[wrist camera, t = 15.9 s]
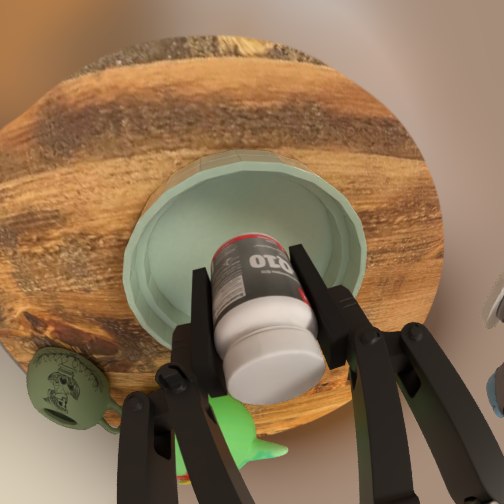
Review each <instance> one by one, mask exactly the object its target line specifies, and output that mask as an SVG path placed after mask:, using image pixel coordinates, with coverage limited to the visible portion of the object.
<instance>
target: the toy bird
mask: <svg viewBox="0 0 504 504" xmlns="http://www.w3.org/2000/svg"><path fill="white" fill-rule="evenodd" d="M208 398H209V403H210V405H211V406H212V408H213V411H214V414H215V416H216V419H217V421H218V424H219V426H220V429H221V431H222V433H223V436H224V438H225V441H226V443H227V445H228V448H229V450H230V452H231V454H232V457H233V459H234V461H235V463H236V466H237V468H238V470H239V469H240V468H241V467H243V466H244V465H245V463H246V462H247V461H251V460H259V459H266V458H273V457H278V456H281V455H284V454H285V453H287V452H288V448H287V447H285V446H283V445H280V444H276V443H271V442H267V441H263V440H260V439H257V438H256V428H255V424H254V421H253V418H252V416H251V415H250V413H249V411H248V410H247V409H246V408H245V406H244V405H243V404H242V403H241V402H239V401H238V400H236V399H234V398H233V397H232V396H231V395H229V394H227V396H222V397H216V398H211V397H210V395H209V394H208ZM175 455H176V476H177V479H180V480H182V481H180V482H179V483H178V484H191V481H190V479H189V476H188V473H187V470H186V467H185V464H184V461H183V458H182V455H181V452H180V448H179V445H178V442H177V439H176V435H175Z"/></svg>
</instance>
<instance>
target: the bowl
mask: <svg viewBox="0 0 504 504" xmlns="http://www.w3.org/2000/svg"><path fill="white" fill-rule="evenodd" d="M248 232H257V233H263V234H266V235H269V236H271V237H273V238H274V239H276V240H277V241H278V242H279V243H280V244H281V245H282V247H283V248H284V249H285V251H286V253H287V255H288V257H289V259H290V254H289V246H293V245H297V244H302V245H303V247H304V249H305V250H306V252H307V254H308V255H309V257H310V259H311V260H312V262H313V264H314V266H315V267H316V269H317V271H318V272H319V274H320V276H321V278H322V279H323V281H324V283H325V284H326V286H327V288H331V287H334V286H338V285H343V286H344V287H346V288H347V289H349V290H350V292H351V293H352V295H353V296H354V298H356V296H357V294H358V291H359V289H360V286H361V283H362V280H363V277H364V274H365V271H366V257H367V244H366V239H365V235H364V231H363V227H362V223H361V221H360V218H359V217H358V215H357V214H356V212H355V211H354V209H353V207H352V206H351V204H350V203H349V201H348V200H347V198H346V197H345V196H344V195H343V194H342V193H341V192H339V191H338V190H337V189H336V188H334V187H333V186H332V185H330V184H329V183H328V182H327V181H325V180H324V179H323V178H321V177H320V176H319V175H317V174H316V173H315V172H313V171H312V170H311V169H309V168H308V167H306V166H305V165H304V164H302V163H301V162H299V161H297V160H294V159H291V158H289V157H286V156H283V155H280V154H277V153H274V152H271V151H264V150H241V149H235V150H230V151H225V152H221V153H217V154H213V155H209V156H205V157H201V158H199V159H197V160H196V161H194V162H192V163H190V164H189V165H187V166H185V167H183V168H182V169H180V170H178V171H177V172H175V173H173V174H172V175H171V176H170V177H169V178H168V179H167V180H166V181H165V182H164V183H163V184H162V185H161V186H160V187H159V188H158V189H157V190H156V191H155V192H154V193H153V195H152V196H151V197H150V198H149V200H148V202H147V203H146V205H145V207H144V209H143V212H142V214H141V216H140V218H139V220H138V222H137V224H136V226H135V228H134V231H133V233H132V235H131V237H130V239H129V242H128V244H127V246H126V249H125V253H124V264H123V276H122V279H123V280H122V281H123V285H124V289H125V293H126V297H127V301H128V305H129V307H130V308H131V310H132V312H133V313H134V315H135V317H136V318H137V320H138V321H139V323H140V324H141V326H142V327H143V328H144V329H145V330H146V331H147V332H148V333H149V334H150V335H151V336H152V337H153V338H154V339H156V340H157V341H158V342H159V343H160V344H161V345H163V346H165V347H167V348H169V349H170V350H172V349H171V347H172V334H173V332H174V330H175V328H176V326H177V325H182V324H187V323H191V293H192V270H195V269H199V268H203V267H206V270H207V273H208V276H209V279H210V281H211V275H210V267H211V261H212V258H213V255H214V253H215V252H216V250H217V249H218V248H219V247H220V246H221V245H222V244H223V243H224V242H225V241H227V240H228V239H230V238H232V237H234V236H236V235H239V234H242V233H248ZM290 262H291V261H290ZM316 340H317V338H316Z"/></svg>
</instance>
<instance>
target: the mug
mask: <svg viewBox="0 0 504 504" xmlns="http://www.w3.org/2000/svg"><path fill="white" fill-rule="evenodd" d="M27 389H28V394H29V397H30V399H31V401H32V404H33V406H34V407H35V408H36V409H37V410H38V412H40V413H41V414H42V415H44V416H45V417H47V418H48V419H49V420H51V421H53V422H55V423H57V424H59V425H62V426H64V427H68V428H72V429H77V430H86V429H89V428H91V427H93V426H95V425H96V424H100V425H101V426H102V427H103V428H104V429H105V430H107V431H108V432H110V433H113V434H118V433H120V427H121V423H120V426H119V427H118V428H117V429H116V428H112V427H111V426H110V425H109V424H108V423H107V422H106V421H105V419H104V418H103V415H104V414H105V411H106V410H107V409H113V410H115V411H117V412H118V413H119V415H120V416H121V417H122V408H121V407H120V406H119V405H118V404H117V403H116V402H115V401H114V400H113V399H112V398H111V396H110V388H109V382H108V380H107V378H106V377H105V375H104V374H103V373H102V372H101V370H100V369H98V368H97V367H96V366H95V365H94V364H93V363H92V362H91V361H89V360H88V359H86V358H84V357H83V356H81V355H80V354H78V353H75V352H72V351H70V350H67V349H64V348H57V347H45V348H41V349H38V351H37V352H36V353H35V355H34V356H33V358H32V360H31V361H30V363H29V365H28V371H27Z"/></svg>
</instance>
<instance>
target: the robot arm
mask: <svg viewBox="0 0 504 504" xmlns="http://www.w3.org/2000/svg"><path fill="white" fill-rule="evenodd" d="M289 254H290V261H291V264H292V266H293V268H294V270H295V272H296V274H297V276H298V279H299V281H300V283H301V285H302V287H303V289H304V291H305V293H306V296H307V298H308V300H309V302H310V304H311V306H312V309H313V311H314V313H315V315H316V319H317V323H318V334H317V340H318V343H319V345H320V347H321V350H322V352H323V355H324V357H325V359H326V362H327V364H328V367H329V369H330V370H331V369H334V368H337V367H340V366H343V365H345V363H346V360H347V362H348V364H349V366H350V367H349V373H348V380H350V384H351V392H352V400H353V408H354V417H355V427H356V438H357V451H358V466H359V492H360V504H420V501H419V498H418V497H417V495H416V494H415V493H414V490H413V481H412V471H411V462H410V455H409V447H408V441H407V435H406V429H405V423H404V418H403V412H402V407H401V403H400V398H399V393H398V389H397V385H396V382H397V384H398V385H399V387H400V389H401V391H402V393H403V395H404V397H405V399H406V401H407V403H408V405H409V407H410V408H411V410H412V413H413V414H414V417H415V419H416V421H417V422H418V425H419V427H420V429H421V431H422V433H423V435H424V437H425V439H426V441H427V444H428V446H429V448H430V450H431V452H432V454H433V457H434V459H435V461H436V463H437V466H438V468H439V470H440V473H441V475H442V477H443V480H444V482H445V485H446V487H447V490H448V492H449V494H450V496H451V497H452V499H453V500H454V502H455V503H456V504H504V456H503V454H502V451H501V449H500V447H499V445H498V443H497V441H496V439H495V437H494V435H493V433H492V431H491V429H490V427H489V426H488V424H487V422H486V420H485V418H484V416H483V414H482V413H481V411H480V409H479V407H478V406H477V404H476V402H475V401H474V399H473V397H472V396H471V394H470V392H469V391H468V389H467V387H466V386H465V384H464V382H463V381H462V379H461V378H460V376H459V374H458V373H457V372H456V370H455V368H454V367H453V365H452V364H451V362H450V361H449V359H448V358H447V356H446V355H445V353H444V352H443V350H442V349H441V348H440V346H439V345H438V343H437V342H436V340H435V339H434V338H433V336H432V335H431V334H430V332H429V331H428V329H427V328H426V327H425V326H424V325H422V324H420V323H416V322H412V323H408V324H406V325H405V326H404V327H403V329H402V330H401V331H396V332H383V331H380V330H379V329H378V328H376V327H373V326H372V325H371V323H370V322H369V320H368V319H367V317H366V315H365V314H364V312H363V311H362V309H361V307H360V306H359V304H358V303H357V301H356V300H355V298H354V296H353V295H352V293H351V292H350V290H349V289H347V288H346V287H344V286H343V285H338V286H334V287H331V288H327V286H326V284H325V283H324V281H323V279H322V278H321V276H320V274H319V272H318V271H317V269H316V267H315V266H314V264H313V262H312V260H311V259H310V257H309V255H308V254H307V252H306V250H305V249H304V247H303V245H302V244H297V245H293V246H289ZM496 316H497V317H498V319H499V320H501V321H502V322H504V296H503V298H502V300H501V302H500V304H499V306H498V309H497V312H496ZM171 349H172V351H171V363H167V364H165V365H163V366H161V367H160V368H159V370H158V371H157V373H156V375H155V381H156V382H157V383H158V384H159V385H160V386H161V389H159V390H157V391H155V392H152V393H150V394H148V395H146V394H145V393H143V392H139V391H136V392H132V393H131V394H129V395H128V396H127V397H126V398H125V400H124V403H123V408H122V417H121V427H120V438H119V453H118V472H117V504H178V492H177V476H176V455H175V435H176V439H177V442H178V445H179V448H180V452H181V455H182V458H183V461H184V464H185V467H186V470H187V473H188V476H189V479H190V481H191V484H192V486H193V489H194V492H195V494H196V497H197V500H198V502H199V504H255V502H254V500H253V499H252V497H251V495H250V493H249V491H248V489H247V487H246V485H245V483H244V480H243V478H242V476H241V474H240V472H239V470H238V468H237V466H236V463H235V461H234V459H233V457H232V454H231V452H230V450H229V448H228V445H227V443H226V441H225V438H224V436H223V433H222V431H221V429H220V426H219V424H218V421H217V419H216V416H215V414H214V411H213V408H212V406H211V405H210V403H209V398H208V394H209V395H210V397H211V398H216V397H222V396H227V388H226V381H225V375H224V371H223V360H222V359H221V358H220V356H219V355H218V353H217V351H216V348H215V344H214V335H213V316H212V297H211V281H210V279H209V276H208V273H207V270H206V267H203V268H199V269H195V270H192V293H191V323H187V324H182V325H177V326H176V328H175V330H174V332H173V334H172V347H171ZM486 389H487V395H488V399H489V402H490V404H491V406H492V407H493V410H494V412H495V414H496V415H497V416H498V417H500V418H502V417H504V363H503V364H502V365H501V366H500V367H498V368H497V369H496V371H495V373H494V374H493V375H492V376H491V377H490V378H489V380H488V382H487V386H486Z"/></svg>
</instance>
